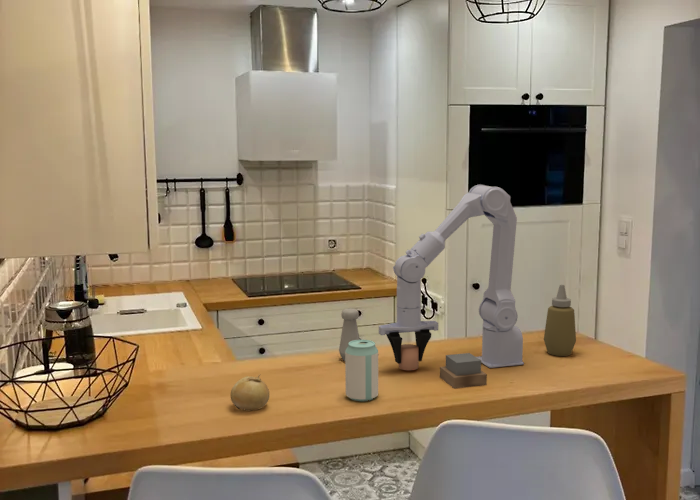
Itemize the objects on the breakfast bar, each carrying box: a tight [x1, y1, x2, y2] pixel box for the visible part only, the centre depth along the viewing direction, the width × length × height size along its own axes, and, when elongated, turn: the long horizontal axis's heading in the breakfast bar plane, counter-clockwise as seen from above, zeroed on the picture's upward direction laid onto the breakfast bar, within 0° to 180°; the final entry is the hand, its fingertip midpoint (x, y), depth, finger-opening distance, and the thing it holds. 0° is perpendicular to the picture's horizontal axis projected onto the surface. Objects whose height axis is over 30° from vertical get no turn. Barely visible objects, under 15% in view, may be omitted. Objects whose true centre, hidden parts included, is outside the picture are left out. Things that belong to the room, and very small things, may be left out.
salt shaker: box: [338, 307, 361, 362], centre depth 179 cm, size 6×6×13 cm
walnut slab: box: [439, 365, 488, 389], centre depth 164 cm, size 8×8×3 cm
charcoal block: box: [445, 352, 482, 376], centre depth 163 cm, size 6×6×3 cm
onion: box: [230, 373, 270, 412], centre depth 148 cm, size 8×8×7 cm
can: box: [344, 339, 379, 402], centre depth 153 cm, size 7×7×12 cm
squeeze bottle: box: [543, 284, 577, 357], centre depth 183 cm, size 8×8×18 cm
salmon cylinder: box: [398, 343, 420, 371], centre depth 172 cm, size 5×5×5 cm
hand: (408, 361), depth 172 cm, fingers closed on salmon cylinder, 5 cm apart
